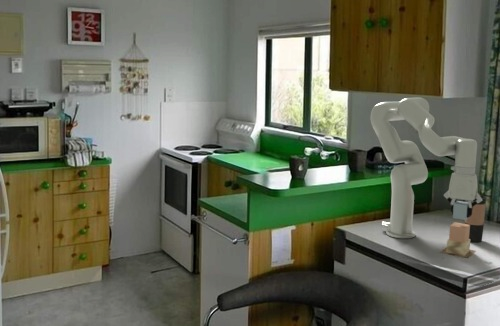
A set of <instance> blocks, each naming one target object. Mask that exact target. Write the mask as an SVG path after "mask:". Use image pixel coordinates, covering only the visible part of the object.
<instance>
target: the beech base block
mask: <svg viewBox="0 0 500 326" xmlns="http://www.w3.org/2000/svg"><path fill="white" fill-rule="evenodd" d="M446 247H447V250H446V252H448V253H453V254H458V255H462V256H465V255H466V254H467V253H468V252H469V250H471V249H470V248H471V242H470V239H469V240H467V241H466V242H465V243H461V242H456V241H451V240H449V238H448V239H447V240H446Z"/></svg>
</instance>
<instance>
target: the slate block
mask: <svg viewBox="0 0 500 326" xmlns="http://www.w3.org/2000/svg"><path fill="white" fill-rule="evenodd" d="M468 206H469V205H468V202H467V201H463V200H457V201H456V202H455V203H454V207H453V215H452V219H456V220H457V219H458V220H463V221H465V220H467V219H468V218H467V208H468Z"/></svg>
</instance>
